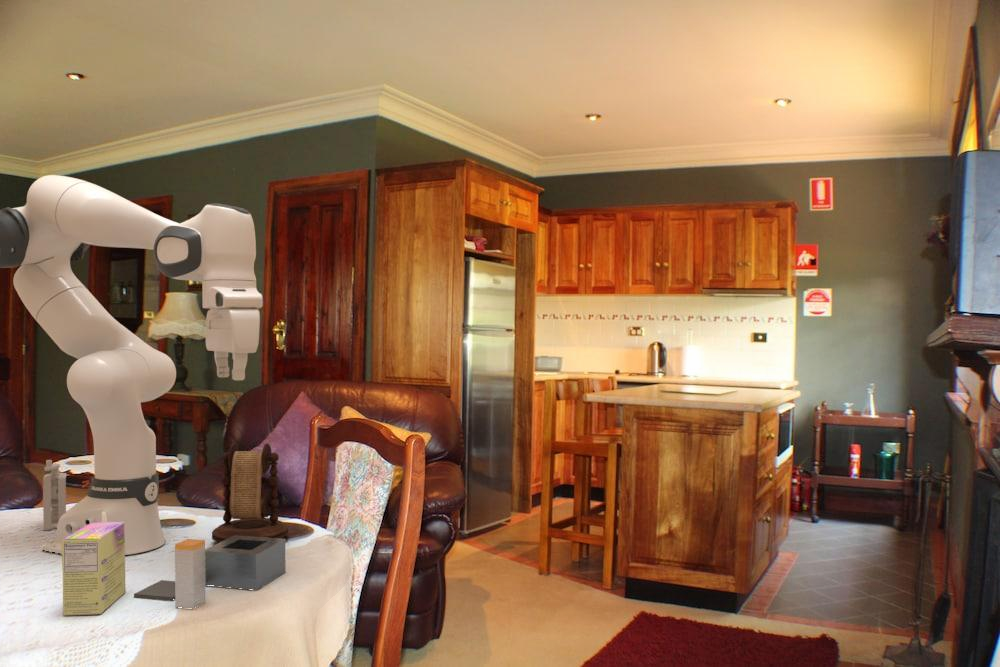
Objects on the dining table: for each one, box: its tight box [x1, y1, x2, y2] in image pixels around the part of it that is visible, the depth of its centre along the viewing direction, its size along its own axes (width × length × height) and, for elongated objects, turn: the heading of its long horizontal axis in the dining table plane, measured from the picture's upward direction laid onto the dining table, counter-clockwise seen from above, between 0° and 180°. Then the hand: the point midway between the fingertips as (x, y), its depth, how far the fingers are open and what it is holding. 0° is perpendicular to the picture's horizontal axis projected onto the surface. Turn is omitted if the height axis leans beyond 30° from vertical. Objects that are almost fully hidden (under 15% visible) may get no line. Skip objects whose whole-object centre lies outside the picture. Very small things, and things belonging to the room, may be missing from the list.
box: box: [61, 522, 126, 617], centre depth 127 cm, size 10×6×12 cm, turn 5°
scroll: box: [211, 442, 289, 544], centre depth 163 cm, size 15×15×20 cm
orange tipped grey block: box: [174, 538, 207, 610], centre depth 127 cm, size 3×3×10 cm
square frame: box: [205, 535, 286, 591], centre depth 140 cm, size 10×10×6 cm
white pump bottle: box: [42, 459, 67, 531], centre depth 176 cm, size 4×10×15 cm, turn 25°
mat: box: [133, 579, 175, 601], centre depth 133 cm, size 7×7×1 cm
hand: (230, 378), depth 139 cm, fingers open, 8 cm apart
